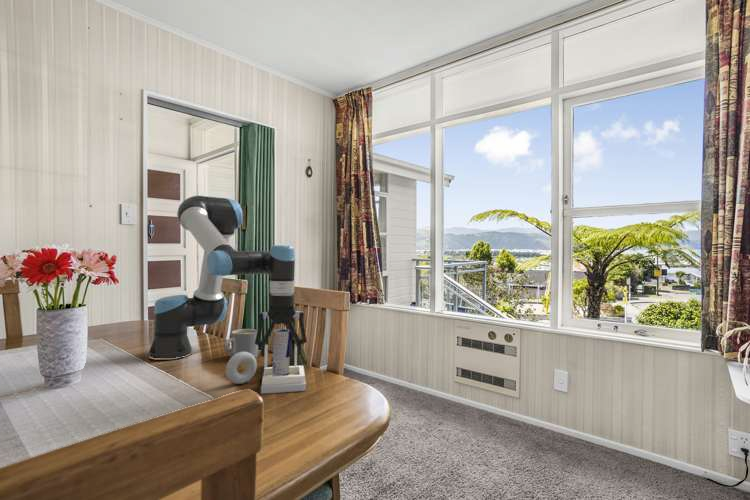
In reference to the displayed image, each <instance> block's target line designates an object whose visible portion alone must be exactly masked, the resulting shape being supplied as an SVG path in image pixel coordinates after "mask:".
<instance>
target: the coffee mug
mask: <svg viewBox="0 0 750 500" xmlns="http://www.w3.org/2000/svg"><path fill="white" fill-rule="evenodd" d="M257 331H258V329H254V328H241V329H236V330H235V329H234V330H233V331H231V337H230V338H227V339H225V341H224V343H223V350H224V352H225V353H226V354H227V355H230V356H231V357H232V356H233V355H235V354H236V353H239V352H249V353H251V354H252V355H253V356H254V357H256V358H258V357H259V356H258V355H259V345H256V344H255V340H256V335H257ZM230 343H231V347H230V348H231V349H229V345H230ZM257 356H258V357H257ZM231 357H230V358H231Z"/></svg>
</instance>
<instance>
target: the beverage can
mask: <svg viewBox="0 0 750 500" xmlns="http://www.w3.org/2000/svg"><path fill="white" fill-rule="evenodd" d="M272 338H273V344H272V346H273V347H272V357H273V362H272V367H273V371H272V376H285V375H289V357H290V330H288V329H286V328H279V329H274V330H273V337H272Z"/></svg>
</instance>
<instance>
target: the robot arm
mask: <svg viewBox="0 0 750 500" xmlns="http://www.w3.org/2000/svg"><path fill="white" fill-rule="evenodd" d="M176 213H177V214H176V216H177V219H178V222H179V224H180V225H181V226H182V228H183V229H185V230H187V231H189V232H190V233H191V235H192V236H193V237H194V239H195V241H197V243H198V244H199V246H200V248H202V249H203V256H202V257H203V258H202V263H201V270H200V277H199V282H198V288H197V289H195V290H194V291H193V295H192V297H189V296H188V295H187V294H177V295H176V294H174V295H169V296H164V297H161V298H158V299H157V300H156V301H154V309H153V339H152V341H151V344H150V348H149V349H148V354H147V355H149V356H150V357H153V358H176V357H182V356H186V355H188V354H190V353H191V352H192V353H193V351H192V346H191V345H192V344H191V343H190V339H189V336H188V328H190V327H197V326H199V327H200V326H205V325H214V324H219V323H220V322H222V321H223V320H224V319H225V317H226V315H227V313H228V301H227V298H226V297H225V294H224V293H223V292H222V291H221V290H222V283H223V278H224V277H225V276H236V275H239V276H240V275H241V276H242V275H269V294H270V295H269V309H268V311H265V312H263V311H261V312H259V313H258V316H259V317H258V319H259V322H258V328H257V330H258V331H257V335H256V340H255V344H256V345H258V346H259V347H260V356H261V357H262V358H264V368H267V367H268V358H269V357H268V352H269V350H268V348H269V347H268V344H267V342H268V339H269V338H270V336H271V333H272V331H274V330H273V329H274V327H275V326H276V325H281V324H283V325H284V324H288V326H289V328H290V330H291V332H292V334H293V336H294V338H295V340H296V343H297V344H295V355H294V366H297V355H300V354H301V345H303V344H306V343H307V342H308V341H307V335H306V330H305V325H304V316H305V315H304V311H303V310H300V311H298V310H297V311H296V309H295V296H294V293H295V268H296V267H295V266H296V265H295V263H296V262H295V261H296V257H295V248H294V246H293V245H277V244H275V245H271V246H270V249H269V251H268V250H257V251H255V250H235V249H234V247H232V246H231V244H230V243H229V242H230V238H231V237H232V236H233V235H235V230H238V229H240V228H241V226H242V225H243V220H244V217H243V210H242V207H241V205H240V203H239V202H238V201H237V200H235V199H231V198H226V197H215V196H205V195H194V196H190V197H188V198H186V199H185V200H183V201H182V202H181V203H180V205H179V207H178V208H177V212H176ZM294 315H296V316H295V317H296V318H297V319H298V322H299V323H298V324H299V326H300V332H301V333H300V334H301V338H300V337H299V335H298V331H296V330H297V329H296V330H295V328H294V326H293V323H292V321H291V319H292V318H294V317H293V316H294ZM267 316H269V318H270V320H271V322H270V325H269V327H268V329H267V330H266V333H265V335H264V336H263V339H262V340H261V335H262V331H263V328H264V322H265V319H267ZM264 368H263V369H264Z"/></svg>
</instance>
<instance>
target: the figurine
mask: <svg viewBox="0 0 750 500" xmlns="http://www.w3.org/2000/svg"><path fill="white" fill-rule="evenodd" d="M295 317H297V316H296V315H294V316H293V318H292V319H291V321H292V323H293V326H294V328H295V330H296V332H298V330H297V326H296V319H295ZM283 325H284V328H285V329H288V330H290V328H289V326H288V324H283ZM295 344H297V343H296V340H295V338H294V336H293V334H292V332H291V330H290V357H289V366H294V355H295ZM308 360H309V357H308V356H307V353H306V351H305V348H304V347H303V344H301V354H300V355H297V366H302V365H303V366H304V367H305V364H306V363H307V362H308ZM271 362H272V363H273V356H272V357H271Z"/></svg>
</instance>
